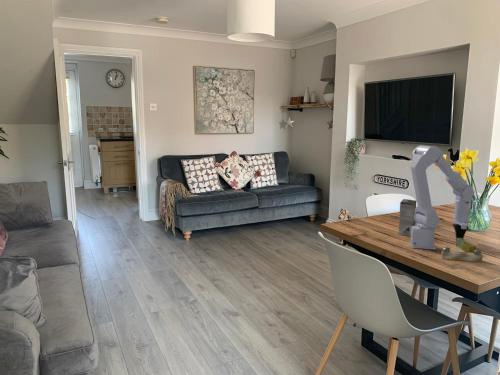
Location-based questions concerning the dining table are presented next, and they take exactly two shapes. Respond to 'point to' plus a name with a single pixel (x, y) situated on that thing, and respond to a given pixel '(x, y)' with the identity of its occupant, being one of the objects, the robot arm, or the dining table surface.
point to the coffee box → (406, 216)
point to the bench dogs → (447, 250)
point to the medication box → (465, 245)
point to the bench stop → (461, 256)
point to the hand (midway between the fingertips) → (459, 240)
